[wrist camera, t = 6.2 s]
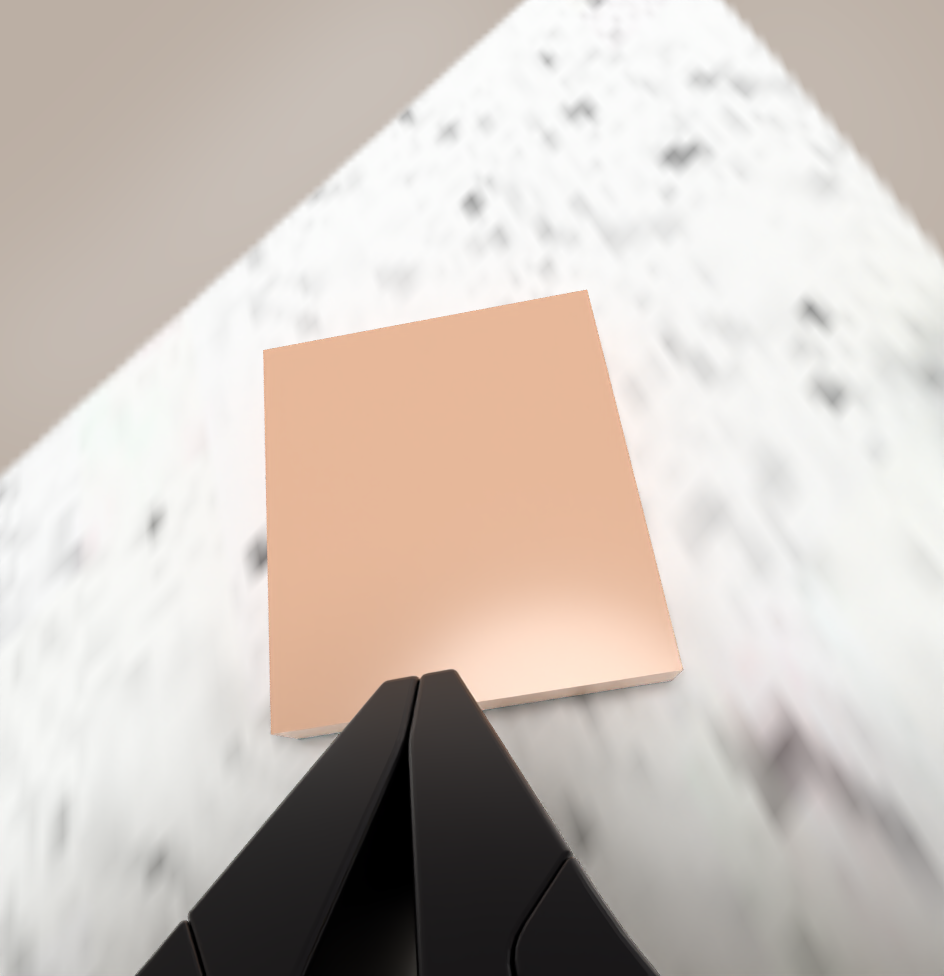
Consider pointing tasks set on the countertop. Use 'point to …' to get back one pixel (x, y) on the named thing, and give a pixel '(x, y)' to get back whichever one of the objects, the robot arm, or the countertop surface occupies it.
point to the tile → (455, 516)
